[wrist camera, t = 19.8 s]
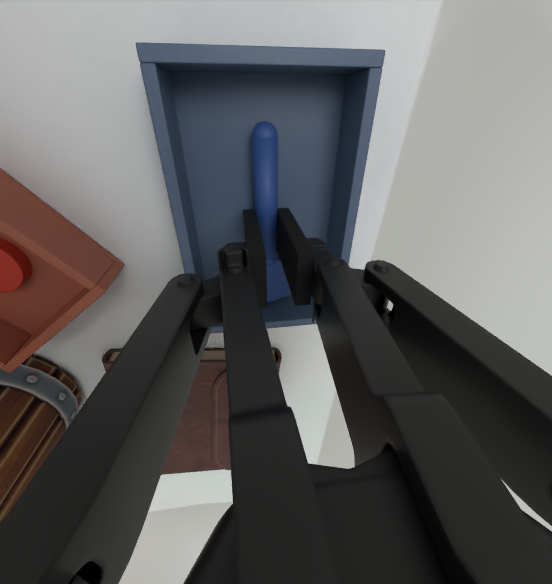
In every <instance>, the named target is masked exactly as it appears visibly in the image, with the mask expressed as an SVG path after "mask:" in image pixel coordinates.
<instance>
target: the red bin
mask: <svg viewBox="0 0 552 584" xmlns="http://www.w3.org/2000/svg"><path fill="white" fill-rule="evenodd" d="M0 238H2V239H4V240H7V241H9V242H10V243H12V244H14V245H15V246H17V247H18V248H19V249H20V250H22V251H23V252H24V254H25V255H26V256H27V257H28V259H29V261H30V263H31V266H32V274H31V277H30V278H29V279H28V280H27V281H26V282H25V283H24V284H23V285H22V286H20V287H19V288H18V289H16V290H14V291H11V292H6V293H0V368H1V369H2V370H4V371H6V372H9V373H11V372H12V371H13V370H14V369H16V368H17V367H18V366H19V365H20V364H21V363H23V362H24V361H25V360H26V359H27V358H28V357H30V356H31V355H32V354H33V353H34V352H35V351H37V350H38V349H39V348H40V347H41V346H43V345H44V344H45V343H46V342H47V341H48V340H50V339H51V338H52V337H53V336H54V335H55V334H57V333H58V332H59V331H60V330H61V329H62V328H64V327H65V326H66V325H67V324H68V323H69V322H71V321H72V320H73V319H74V318H75V317H76V316H78V315H79V314H80V313H81V312H82V311H84V310H85V309H86V308H87V307H88V306H89V305H91V304H92V303H93V302H94V301H95V300H96V299H98V298H99V297H100V296H101V295H102V294H103V293H105V292H106V290H107V289H108V288H109V286H110V285H111V283H112V282H113V280H114V279H115V277H116V276H117V275H118V273H119V272H120V270H121V269H122V267H123V266H124V263H123V262H121V261H120V260H119V259H117V258H116V257H115V256H113V255H112V254H111V253H110V252H108V251H107V250H106V249H104V248H103V247H102V246H100V245H99V244H98V243H97V242H95V241H94V240H93V239H91V238H90V237H89V236H87V235H86V234H85V233H84V232H82V231H81V230H80V229H78V228H77V227H76V226H75V225H73V224H72V223H71V222H69V221H68V220H67V219H65V218H64V217H63V216H62V215H60V214H59V213H58V212H56V211H55V210H54V209H52V208H51V207H50V206H49V205H47V204H46V203H45V202H43V201H42V200H41V199H39V198H38V197H37V196H36V195H34V194H33V193H32V192H30V191H29V190H28V189H26V188H25V187H24V186H23V185H21V184H20V183H19V182H17V181H16V180H15V179H14V178H12V177H11V176H10V175H8V174H7V173H6V172H4V171H3V170H2V169H1V168H0Z"/></svg>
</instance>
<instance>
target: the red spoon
mask: <svg viewBox="0 0 552 584" xmlns="http://www.w3.org/2000/svg"><path fill="white" fill-rule="evenodd" d="M31 274H32V266H31V263H30V261H29V259H28V257H27V256H26V255H25V254H24V252H23V251H22V250H20V249H19V248H18V247H17V246H15V245H14V244H12V243H10V242H9V241H7V240H4V239H2V238H0V293H6V292H11V291H14V290H16V289H18V288H19V287H20V286H22V285H23V284H24V283H25V282H26V281H27V280H28V279H29V278H30V277H31Z"/></svg>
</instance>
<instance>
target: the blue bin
mask: <svg viewBox="0 0 552 584" xmlns="http://www.w3.org/2000/svg"><path fill="white" fill-rule="evenodd" d="M136 48H137V53H138V57H139V61H140V62H141V63H140V67H141V71H142V76H143V81H144V85H145V90H146V95H147V99H148V104H149V108H150V113H151V118H152V122H153V127H154V132H155V136H156V141H157V145H158V150H159V155H160V159H161V164H162V169H163V173H164V178H165V183H166V187H167V192H168V196H169V201H170V206H171V210H172V215H173V220H174V224H175V229H176V233H177V238H178V243H179V247H180V252H181V257H182V261H183V266H184V271H185V273H192V274H197V275H200V276H201V277H202V279H203V281H204V280H208V279H211V278H214V277H216V276H217V275H219V274H220V272H219V264H218V256H217V252H218V250H220V249H221V248H223V247H224V246H225V245H226V244H227V243H236V242H245V234H244V219H243V210H244V209H255V203H254V179H253V156H252V131H253V128H254V127H255V125H256V124H258V123H259V122H262V121H268V122H270V123H272V124H273V125H274V126H275V128H276V130H277V133H278V208H289V209H290V211H291V213H292V214H293V216H294V218H295V219H296V221H297V223H298V225H299V226H300V228H301V230H302V231H303V233H304V235H305V237H306V238H319V239H320V240H322V241H323V242H324V243H325V245H326V246H327V247H328V250H330V252H331V253H332V255H333V256H334V257H338V258H341V259H343V260H345V261H346V262H347V264H349V258H350V252H351V246H352V240H353V235H354V229H355V223H356V217H357V212H358V206H359V200H360V194H361V188H362V183H363V177H364V171H365V165H366V160H367V154H368V148H369V142H370V137H371V131H372V125H373V119H374V113H375V108H376V102H377V96H378V90H379V85H380V79H381V73H382V66H383V61H384V56H385V50H373V49H339V48H305V47H272V46H238V45H205V44H171V43H138V42H137V43H136ZM278 255H279V254H278ZM313 304H314V300H313V297H312V295H311V305H299V306H295V304H294V301H293V298H292V295H291V291H290V290H289V291H288V293H287V294H286V295H284V296H283V297H282V298H280V299H278V300H275V301H270V302H267V308H262V309H261V310H262V314H263V318H264V322H265V325H266V328H276V327H288V326H299V325H310V324H317V322H316V318H315V320H314V323H312V314H313ZM221 332H224V331H223V323H220V324H217V325H214V326H211V332H210V333H221Z"/></svg>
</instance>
